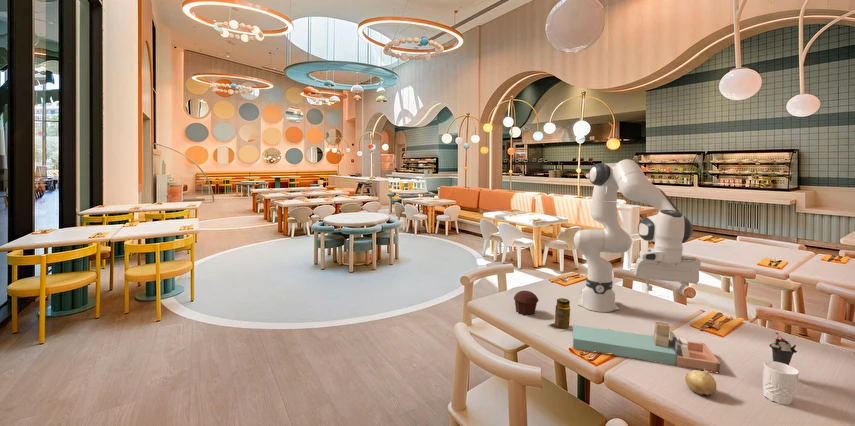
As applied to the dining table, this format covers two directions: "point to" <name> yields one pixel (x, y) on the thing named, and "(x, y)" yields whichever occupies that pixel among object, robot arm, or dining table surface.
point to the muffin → (525, 302)
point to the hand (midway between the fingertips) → (664, 292)
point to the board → (621, 344)
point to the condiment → (562, 315)
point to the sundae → (782, 350)
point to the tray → (698, 358)
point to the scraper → (665, 336)
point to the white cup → (779, 381)
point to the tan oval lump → (701, 382)
